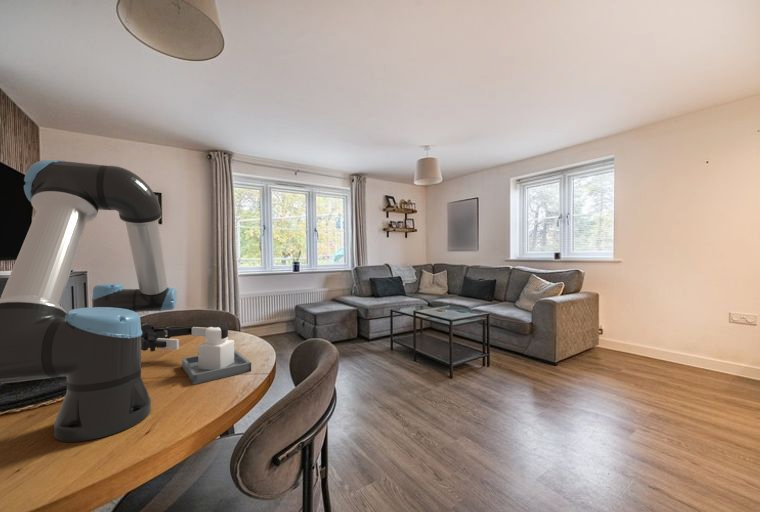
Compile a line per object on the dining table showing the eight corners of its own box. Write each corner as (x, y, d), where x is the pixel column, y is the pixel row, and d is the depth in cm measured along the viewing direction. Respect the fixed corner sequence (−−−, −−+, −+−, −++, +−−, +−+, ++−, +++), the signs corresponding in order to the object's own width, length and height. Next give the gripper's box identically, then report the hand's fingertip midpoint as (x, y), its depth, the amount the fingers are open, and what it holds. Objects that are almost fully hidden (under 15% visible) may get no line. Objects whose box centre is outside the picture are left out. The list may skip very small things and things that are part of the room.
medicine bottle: (213, 361, 99) (213, 323, 99) (234, 362, 98) (234, 324, 98) (197, 369, 92) (197, 328, 91) (220, 371, 91) (220, 329, 91)
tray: (251, 371, 93) (251, 362, 93) (193, 384, 83) (193, 375, 83) (233, 356, 106) (233, 348, 106) (181, 366, 96) (181, 358, 96)
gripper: (166, 335, 111) (221, 338, 108) (93, 359, 87) (161, 364, 84) (166, 314, 111) (221, 317, 108) (93, 332, 87) (161, 336, 83)
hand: (195, 337), depth 96 cm, fingers open, 13 cm apart
